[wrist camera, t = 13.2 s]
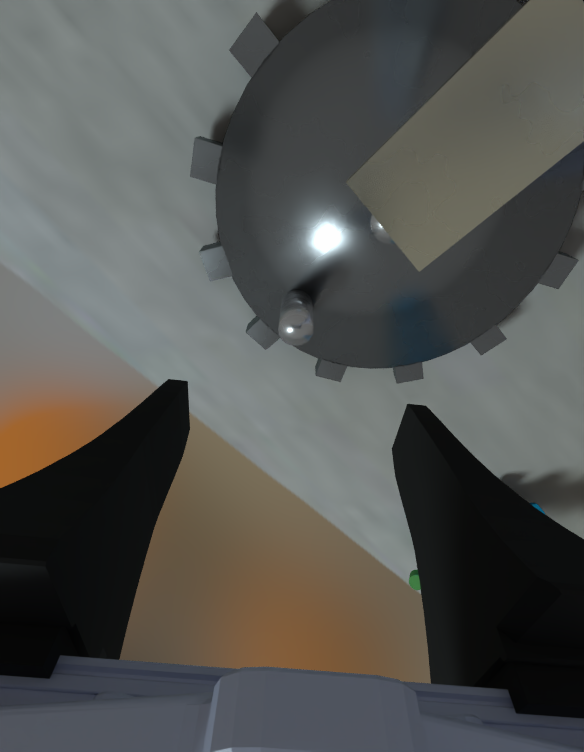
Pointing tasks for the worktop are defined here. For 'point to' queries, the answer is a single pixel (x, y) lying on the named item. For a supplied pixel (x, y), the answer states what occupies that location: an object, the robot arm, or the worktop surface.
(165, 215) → the worktop surface
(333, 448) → the worktop surface
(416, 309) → the sprocket
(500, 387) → the worktop surface
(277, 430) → the worktop surface
